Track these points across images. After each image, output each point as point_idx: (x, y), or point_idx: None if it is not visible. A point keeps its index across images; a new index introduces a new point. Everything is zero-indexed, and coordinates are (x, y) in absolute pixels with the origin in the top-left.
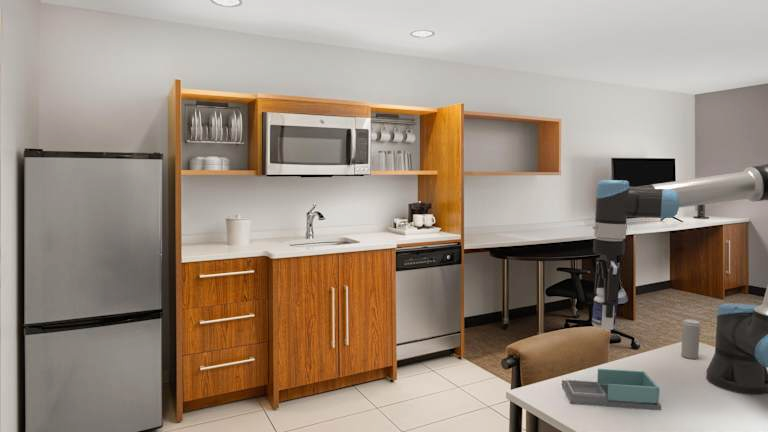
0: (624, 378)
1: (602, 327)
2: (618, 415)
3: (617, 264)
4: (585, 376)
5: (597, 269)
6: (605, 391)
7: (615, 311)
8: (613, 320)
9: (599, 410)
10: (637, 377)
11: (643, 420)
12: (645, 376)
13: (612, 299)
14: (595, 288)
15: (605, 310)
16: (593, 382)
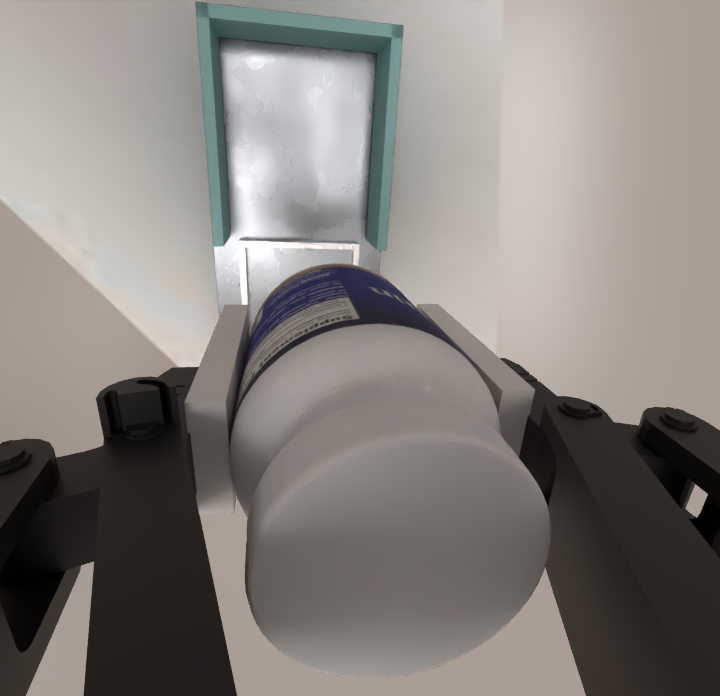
0: (220, 122)
1: None
2: (438, 224)
3: None
4: (111, 248)
5: None
6: (295, 224)
7: (430, 322)
8: (462, 328)
9: (408, 274)
10: (214, 54)
11: (468, 151)
12: (251, 23)
13: (714, 502)
14: (55, 617)
15: None
16: (245, 258)
